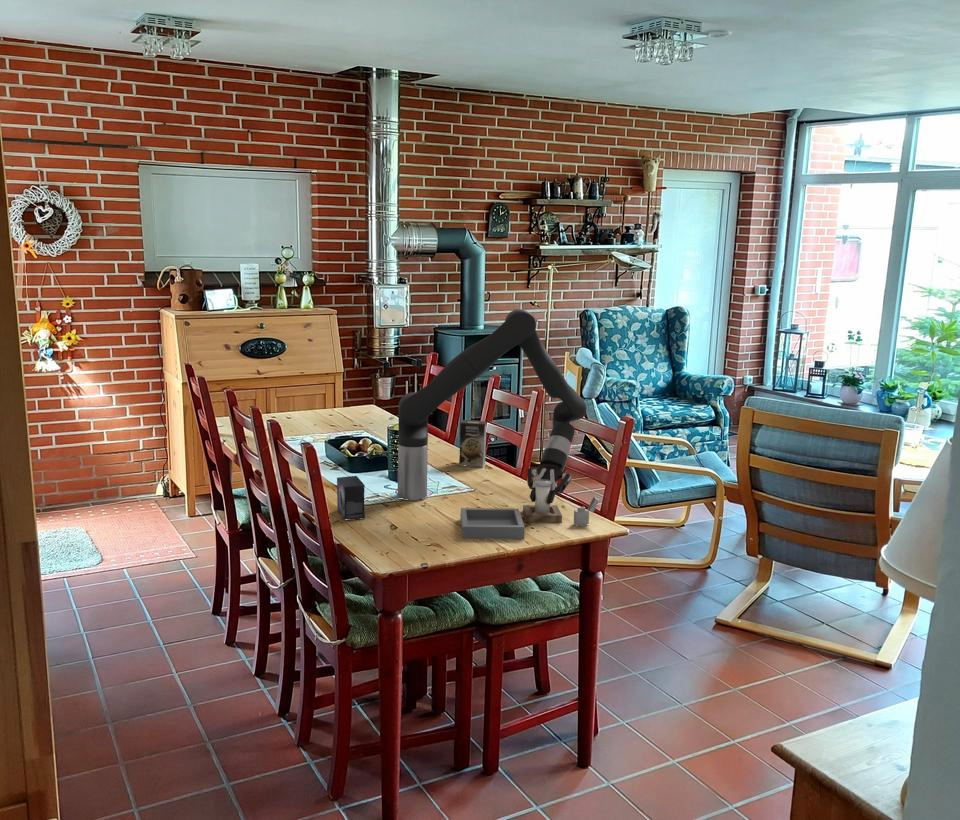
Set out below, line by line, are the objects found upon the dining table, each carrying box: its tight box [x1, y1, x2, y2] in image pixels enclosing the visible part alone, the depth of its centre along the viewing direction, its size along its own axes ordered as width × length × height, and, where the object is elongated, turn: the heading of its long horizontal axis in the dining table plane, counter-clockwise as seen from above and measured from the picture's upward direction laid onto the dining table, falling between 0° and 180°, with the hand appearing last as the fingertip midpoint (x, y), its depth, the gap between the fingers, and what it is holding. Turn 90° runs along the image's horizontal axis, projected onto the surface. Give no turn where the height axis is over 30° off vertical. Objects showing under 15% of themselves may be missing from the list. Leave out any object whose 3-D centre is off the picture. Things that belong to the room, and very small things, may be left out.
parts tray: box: [460, 507, 526, 540], centre depth 252 cm, size 17×17×4 cm
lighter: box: [573, 496, 600, 526], centre depth 258 cm, size 7×2×8 cm, turn 105°
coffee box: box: [458, 419, 487, 467], centre depth 322 cm, size 9×6×16 cm
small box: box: [336, 475, 366, 520], centre depth 261 cm, size 11×6×10 cm, turn 21°
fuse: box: [534, 479, 551, 514], centre depth 264 cm, size 5×5×11 cm
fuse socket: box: [522, 504, 563, 523], centre depth 265 cm, size 10×10×2 cm
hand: (540, 501), depth 262 cm, fingers closed on fuse, 4 cm apart
